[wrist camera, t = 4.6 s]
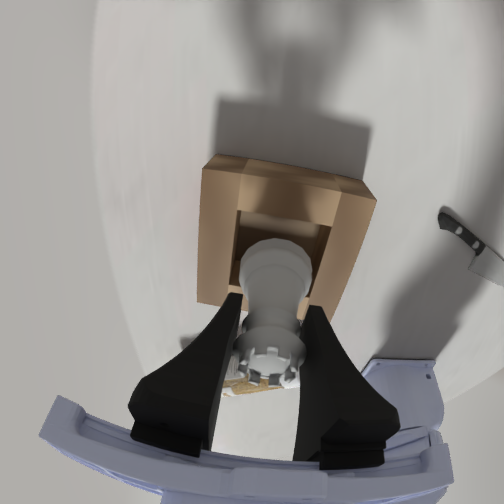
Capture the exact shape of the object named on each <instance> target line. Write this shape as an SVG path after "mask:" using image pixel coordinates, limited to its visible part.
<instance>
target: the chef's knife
mask: <svg viewBox="0 0 504 504" xmlns="http://www.w3.org/2000/svg"><path fill="white" fill-rule="evenodd" d="M438 222H439V225H440V229H444V230H448V231H451V232H453V233H455V234H456V235H457V236H459V237H460V238H461V239H463V240H464V241H465V242H466V243H467V244H468V245H469V246H470V247H471V248H472V249H473V250H475V251H476V256H475V257H474V259H473V261H472V263H471V264H470V266H469V268H468V269H469V270H470V271H472V272H474V273H476V274H478V275H480V276H482V277H484V278H486V279H488V280H490V281H492V282H493V283H495V284H497V285H500V286H503V287H504V261H503V260H502V259H501V258H500V257H499V256H498V255H497V254H496V253H494V252H493V251H492V250H491V249H490V248H489V247H488V246H487V245H485V244H484V243H483V242H482V241H481V240H479V239H478V238H477V237H476V236H475V235H473V234H472V233H471V232H470V231H469V230H467V229H466V228H465V227H464V226H462V225H461V224H460V223H459V222H457V221H456V220H455V219H453V218H452V217H451V216H449V215H447V214H445V213H441V214H440V215H439V217H438Z"/></svg>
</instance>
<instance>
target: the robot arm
mask: <svg viewBox="0 0 504 504" xmlns="http://www.w3.org/2000/svg"><path fill="white" fill-rule="evenodd" d="M242 300H243V294H240V293H234V292H230V293H228V295H227V297H226V299H225V301H224V303H223V305H222V306H221V308H220V309H219V311H218V312H217V313H216V315H215V316H214V318H213V319H212V320H211V322H210V323H209V324H208V325H207V326H206V328H205V329H204V330H203V331H202V332H201V333H200V334H199V336H198V337H197V338H196V339H195V340H194V341H193V342H192V343H191V344H190V345H188V346H187V347H186V348H185V349H184V350H183V351H182V352H181V353H179V354H178V355H177V356H176V357H174V358H173V359H172V360H170V361H169V362H167V363H166V364H165V365H163V366H162V367H160V368H159V369H157V370H155V371H154V372H152V373H150V374H149V375H147V376H145V377H143V378H142V379H141V380H140V382H139V383H138V385H137V386H136V388H135V390H134V391H133V393H132V396H131V398H130V401H129V404H128V409H129V411H130V412H131V414H132V416H133V418H134V420H135V422H134V425H133V427H132V430H129V429H126V428H123V427H120V426H118V425H115V424H112V423H110V422H107V421H105V420H102V419H100V418H97V417H95V416H92V415H90V414H88V413H86V412H85V410H84V409H83V407H81V406H80V405H79V404H77V403H75V402H73V401H71V400H68V399H66V398H64V397H62V396H60V395H58V396H57V398H56V400H55V401H54V403H53V405H52V408H51V410H50V412H49V414H48V416H47V418H46V420H45V422H44V424H43V427H42V429H41V431H40V433H39V437H41V438H42V439H43V440H44V441H45V442H47V443H48V444H50V445H51V446H52V447H54V448H55V449H56V450H57V451H59V452H60V453H62V454H64V455H66V456H67V457H69V458H71V459H73V460H75V461H77V462H79V463H81V464H83V465H85V466H87V467H89V468H92V469H94V470H96V471H98V472H100V473H102V474H105V475H107V476H109V477H111V478H114V479H116V480H119V481H121V482H124V483H126V484H129V485H132V486H134V487H137V488H140V489H143V490H146V491H148V492H152V493H155V494H158V495H161V496H162V499H161V503H160V504H436V503H437V502H438V501H439V500H440V499H441V498H442V497H443V496H444V494H445V493H446V491H447V487H448V485H450V484H452V483H453V482H454V477H453V471H452V465H451V459H450V453H449V448H448V444H447V443H444V444H443V440H442V436H441V433H440V432H439V431H437V430H438V429H439V427H440V426H441V424H442V421H443V416H444V404H443V400H442V397H441V393H440V390H439V387H438V383H437V380H436V377H435V374H434V371H433V367H434V365H435V364H436V362H435V360H390V359H373V360H371V361H370V363H369V364H368V365H367V367H366V368H365V370H364V371H363V372H362V374H361V373H360V372H359V371H358V370H357V368H356V367H355V366H354V364H353V363H352V361H351V360H350V358H349V357H348V355H347V354H346V352H345V351H344V349H343V347H342V346H341V344H340V342H339V340H338V338H337V337H336V335H335V333H334V331H333V329H332V327H331V325H330V323H329V321H328V319H327V317H326V314H325V312H324V310H323V308H322V306H316V305H309V307H308V310H307V312H306V315H305V318H304V321H303V323H302V326H301V333H300V336H299V339H300V340H301V341H302V342H303V343H304V344H305V346H306V351H307V356H306V358H305V361H304V363H303V364H302V365H301V366H300V367H299V377H300V404H299V416H298V426H297V434H296V442H295V448H294V454H293V460H292V461H282V460H270V459H260V458H251V457H243V456H236V455H229V454H223V453H217V452H212V451H211V447H212V442H213V436H214V431H215V425H216V420H217V414H218V409H219V404H220V398H221V393H222V388H223V383H224V379H225V376H226V372H227V369H228V366H229V362H230V359H231V356H232V348H233V343H234V342H235V341H236V337H237V331H238V326H239V320H240V313H241V307H242Z"/></svg>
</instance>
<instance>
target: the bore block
mask: <svg viewBox="0 0 504 504" xmlns="http://www.w3.org/2000/svg"><path fill="white" fill-rule="evenodd" d="M376 202H377V200H376V198H375V197H374V196H373V194H372V193H371V191H370V190H369V189H368V187H367V186H366V185H365V183H364V182H363V181H361V180H357V179H353V178H348V177H344V176H340V175H335V174H331V173H326V172H321V171H317V170H312V169H307V168H302V167H296V166H291V165H285V164H280V163H274V162H268V161H262V160H255V159H249V158H242V157H234V156H227V155H219V154H216V155H215V156H214V157H213V158H212V159H211V160H210V161H209V162H208V163H207V164H206V165H205V166H204V167H203V168H202V180H201V196H200V215H199V237H198V269H197V302H199V303H204V304H209V305H215V306H220V307H221V306H222V305H223V303H224V301H225V299H226V297H227V295H228V293H230V292H234V293H240V294H243V291H242V288H241V285H240V282H239V273H240V264H241V259H242V257H243V255H244V254H245V252H246V251H247V249H248V248H250V247H251V246H253V245H254V244H256V243H258V242H259V241H262V240H268V239H273V238H277V239H283V240H289V241H291V242H293V243H295V244H296V245H298V246H300V247H302V248H303V250H304V251H305V252H306V254H307V255H308V256H309V258H310V260H311V265H312V274H311V275H312V282H311V285H310V288H309V291H308V294H307V295H306V296H305V297H304V298H303V300H302V301H301V303H300V304H299V307H298V312H297V319H301V320H304V318H305V315H306V312H307V310H308V307H309V305H316V306H322V308H323V310H324V312H325V314H326V317H327V319H328V321H329V323H330V322H331V319H332V317H333V315H334V313H335V310H336V308H337V306H338V303H339V301H340V299H341V296H342V294H343V292H344V289H345V287H346V284H347V282H348V279H349V277H350V275H351V272H352V269H353V267H354V264H355V262H356V259H357V256H358V254H359V251H360V248H361V246H362V243H363V240H364V238H365V235H366V232H367V229H368V226H369V223H370V220H371V217H372V214H373V211H374V208H375V205H376ZM241 310H243V311H248V300H247V299H246V296H245V295H244V294H243V300H242V307H241Z"/></svg>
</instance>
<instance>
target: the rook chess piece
mask: <svg viewBox="0 0 504 504" xmlns="http://www.w3.org/2000/svg"><path fill="white" fill-rule="evenodd" d="M311 274H312V265H311V260H310V258H309V256H308V255H307V254H306V252H305V251H304V250H303V248H302V247H300V246H298V245H296V244H295V243H293V242H291V241H289V240H283V239H277V238H273V239H268V240H262V241H259V242H258V243H256V244H254V245H253V246H251V247H250V248H248V249H247V251H246V252H245V254H244V255H243V257H242V259H241V264H240V273H239V282H240V285H241V288H242V291H243V294H244V295H245V296H246V299H247V300H248V315H247V317H246V318H245V319H244V320H243V323H242V331H243V334H241V335H240V336H239V337H238V338H237V339H236V341H235V342H234V343H233V348H232V354H233V356H234V358H235V360H236V362H237V363H238V369H237V370H238V372H239V374H240V376H241V377H242V376H247V373H248V374H249V378H248V382H249V383H251V384H254V385H256V386H258V385H259V383H260V378H263V379H269V383H268V385H269V387H280V378H283V377H284V381H286V382H287V383H290V382H291V381H293V380H294V379H295V378H296V372H298V367H300V366H301V365H302V364H303V363H304V361H305V358H306V356H307V351H306V346H305V344H304V343H303V342H302V341H301V340H300V339H299V336H300V333H301V326H300V322H299V321H298V319H297V312H298V307H299V304H300V303H301V301H302V300H303V298H304V297H305V296H306V295H307V294H308V291H309V288H310V285H311V282H312V275H311Z"/></svg>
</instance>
